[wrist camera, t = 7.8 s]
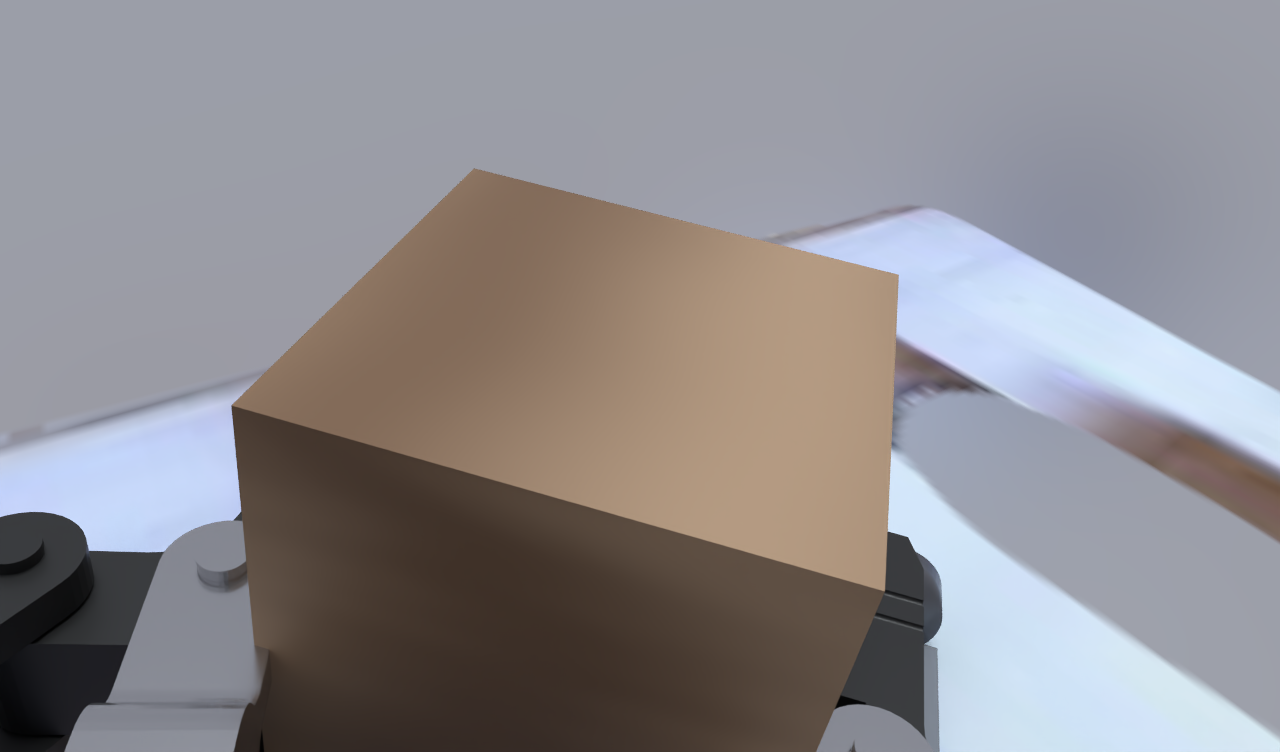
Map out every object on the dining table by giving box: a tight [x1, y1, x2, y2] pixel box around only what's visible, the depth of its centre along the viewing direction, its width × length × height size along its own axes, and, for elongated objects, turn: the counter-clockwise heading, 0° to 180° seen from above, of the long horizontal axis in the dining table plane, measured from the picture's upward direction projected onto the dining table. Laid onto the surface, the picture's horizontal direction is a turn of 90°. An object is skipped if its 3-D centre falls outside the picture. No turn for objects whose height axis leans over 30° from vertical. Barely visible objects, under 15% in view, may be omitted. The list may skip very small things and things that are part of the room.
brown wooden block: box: [231, 169, 899, 752], centre depth 12 cm, size 5×5×10 cm
